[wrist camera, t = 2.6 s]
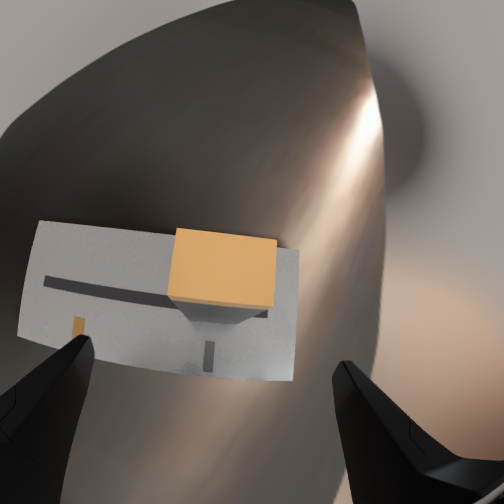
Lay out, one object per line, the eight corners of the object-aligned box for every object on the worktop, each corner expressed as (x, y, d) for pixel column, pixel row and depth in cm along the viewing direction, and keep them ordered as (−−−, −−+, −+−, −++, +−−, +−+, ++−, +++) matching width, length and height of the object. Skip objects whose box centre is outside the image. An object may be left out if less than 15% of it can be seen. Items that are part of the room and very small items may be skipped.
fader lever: (238, 293, 18) (276, 240, 9) (236, 324, 18) (273, 306, 8) (191, 288, 18) (176, 227, 8) (188, 319, 17) (166, 295, 8)
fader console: (292, 256, 22) (299, 249, 20) (286, 378, 19) (293, 381, 17) (47, 227, 19) (38, 219, 18) (27, 336, 16) (16, 335, 15)
